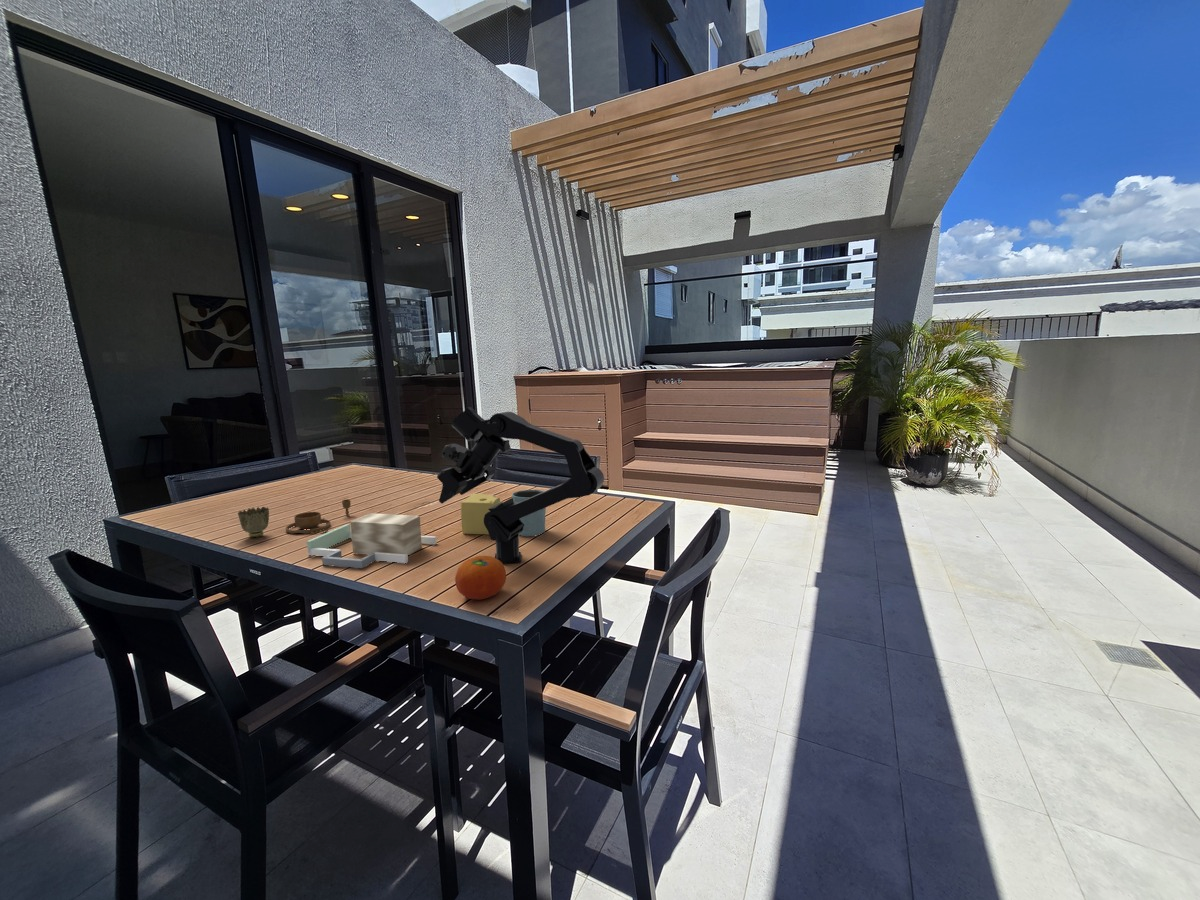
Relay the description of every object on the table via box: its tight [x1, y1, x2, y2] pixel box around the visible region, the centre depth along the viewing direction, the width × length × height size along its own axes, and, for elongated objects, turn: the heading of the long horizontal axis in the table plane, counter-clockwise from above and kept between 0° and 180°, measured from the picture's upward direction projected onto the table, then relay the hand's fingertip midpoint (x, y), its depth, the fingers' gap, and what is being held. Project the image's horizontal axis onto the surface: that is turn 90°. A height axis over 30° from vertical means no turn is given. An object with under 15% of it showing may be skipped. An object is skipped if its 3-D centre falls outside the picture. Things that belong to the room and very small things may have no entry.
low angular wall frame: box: [306, 523, 437, 569], centre depth 131 cm, size 28×25×4 cm
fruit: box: [454, 555, 507, 600], centre depth 104 cm, size 11×10×8 cm
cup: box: [237, 506, 270, 539], centre depth 142 cm, size 8×7×8 cm
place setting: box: [285, 499, 352, 534], centre depth 153 cm, size 18×20×6 cm
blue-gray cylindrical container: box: [511, 489, 547, 537], centre depth 145 cm, size 10×10×12 cm
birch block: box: [350, 512, 423, 556], centre depth 130 cm, size 15×8×9 cm, turn 80°
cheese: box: [460, 493, 503, 535], centre depth 148 cm, size 10×11×10 cm
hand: (450, 497), depth 126 cm, fingers open, 9 cm apart
